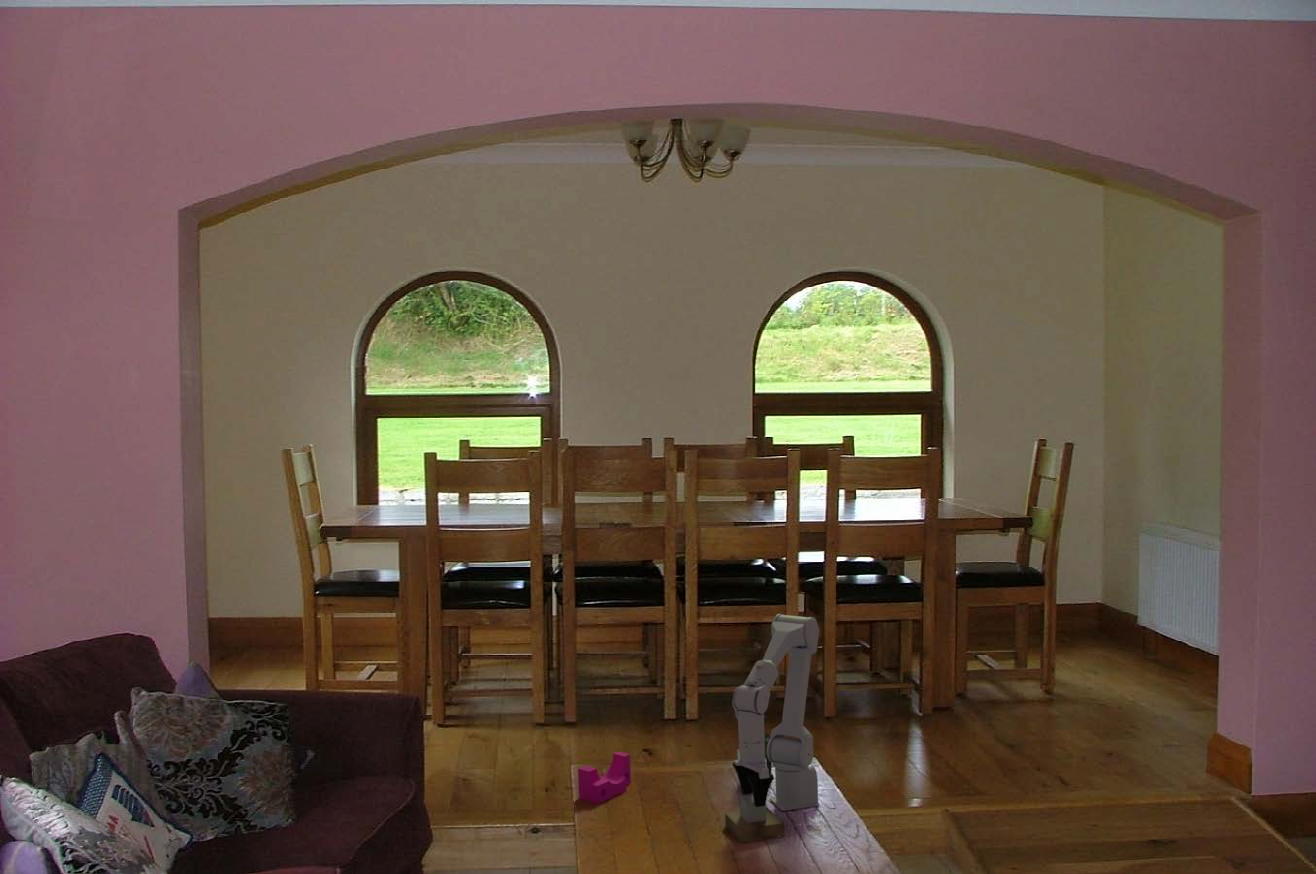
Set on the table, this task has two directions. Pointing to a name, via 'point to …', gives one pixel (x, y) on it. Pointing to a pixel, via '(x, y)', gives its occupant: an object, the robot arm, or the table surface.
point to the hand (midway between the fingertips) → (753, 800)
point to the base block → (754, 827)
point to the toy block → (605, 779)
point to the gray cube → (751, 810)
